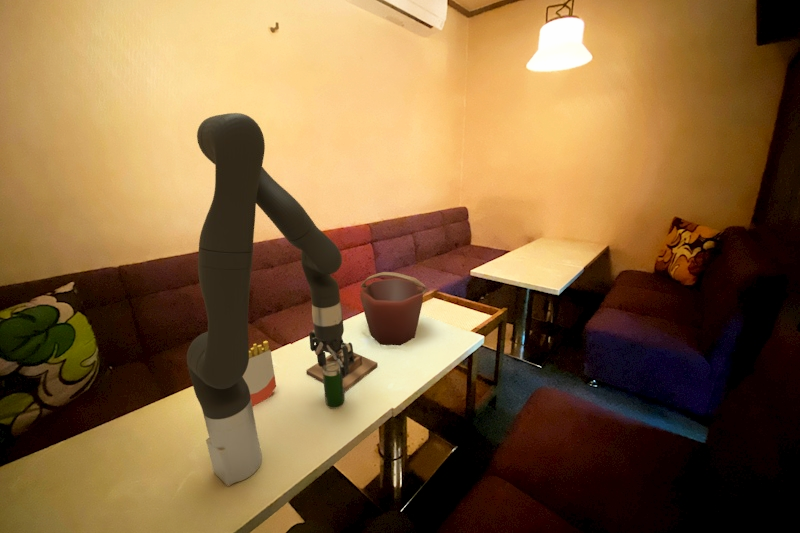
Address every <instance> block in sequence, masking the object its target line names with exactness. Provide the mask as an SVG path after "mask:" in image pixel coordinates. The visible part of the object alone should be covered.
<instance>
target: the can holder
mask: <svg viewBox="0 0 800 533" xmlns="http://www.w3.org/2000/svg"><path fill="white" fill-rule="evenodd" d="M336 354H337V355H339V354H341V350H340V351H339V352H338V353H336ZM353 354H354V363H353V364H351V365H350V366H349V374H348V375H347V376H346V377H344V378H343V381H344V393H346V392H347V391H348V390H350V389H351V388H352V387H354V386H355V385H356V384H357V383H359V382H360V381H361V380H362V379H363V378H365V377H366V376H368V375H369V374H370V373H371V372H373V371H375V370H376V368H378V362H376V361H374V360H372V359H370V358H368V357H366V356H363V355H361V354H358V353H356V352H354V351H353ZM341 359H342V361H344V358H343V357H341ZM349 359H350V358H349ZM329 362H338V361H337V360H335V359H334V357H333V355H331V354H329V355H328V356H326V363H329ZM305 371H306V372H305V373H306V375H307V376H309V377H311V378H313V379H315V380H317V381H318V382H319V383H320V382H321V383H322V384H324V382H323V366H322V367H320V366H319V364H318V362H317V363H315V364H314V365H312V366H310V367H309V368H307V369H306V370H305ZM349 388H350V389H349ZM345 391H346V392H345Z"/></svg>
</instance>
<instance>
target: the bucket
mask: <svg viewBox="0 0 800 533" xmlns="http://www.w3.org/2000/svg"><path fill="white" fill-rule="evenodd" d="M380 277H394V278H387V279H379V280H373V279H375V278H380ZM370 280H371V281H370ZM372 280H373V281H372ZM368 281H370V282H369V283H368V284H366V283H367V282H368ZM360 288H361V289H360V291H359V292H360V293H359V294H360V295H359V296H360V301H361V304H362V308H363V312H364V316H365V321H366V324H367V327H368V331H369V335H370V337H371V338H372V339H373V340H375V341H376V342H377V343H378V344H379V345H383V346H384V345H385V346H397V347H398V346H402V345H404V344H406V343H408V342H410V341H412V340H414V339H415V338H416V334H417V330H418V324H419V319H420V315H421V312H422V311H421V310H422V306H423V303H424V295H425V294H426V292H427V291H428V289H427V286H426V285H425V284H424V283H423V282H421V281H420V280H418V278H416V277H413V276H409V275H406V274H403V273H398V272H395V271H394V272H392V271H383V272H379V273H374V274H373V275H370V276H368V277H366V278H365V279H364V281H363V282H362V283H360Z"/></svg>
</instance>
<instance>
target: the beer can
mask: <svg viewBox="0 0 800 533" xmlns="http://www.w3.org/2000/svg"><path fill="white" fill-rule="evenodd" d="M323 382H324V383H323V390H324V399H325V401H324V402H325V405H326V406H327V407H328V408H329V409H333V410H335V409H336V408H337V409H339V407H340V408H341V407H342V406H344V404H345V401H346V395H345V392H344V381H343V378H342V377H341V374H340V364H339V363H338V362H329V363H326V364H325V365H324V366H323Z"/></svg>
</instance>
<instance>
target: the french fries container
mask: <svg viewBox="0 0 800 533" xmlns="http://www.w3.org/2000/svg"><path fill="white" fill-rule="evenodd" d="M262 345H263V346H262ZM272 356H273V355H272V351H271V348H270V346H269V341H268V340H265V341H262V344H258V345H257V343H253V345H252V347H249V362H248V366H247V369H246V371H245V373H244V375H243V378H244V380H245V382H246V383H247V385H248V387H249V391H250V397H251V402H252V407H254V406H255V405H256V406H257V405H258V404H259V403H261V402H264V401H265V400H267V399H269V398H270V396H271V395H272V394H273V392H274V391H275V389H276V387H277V384H276V376H275V370H274V363H273V357H272Z"/></svg>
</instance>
